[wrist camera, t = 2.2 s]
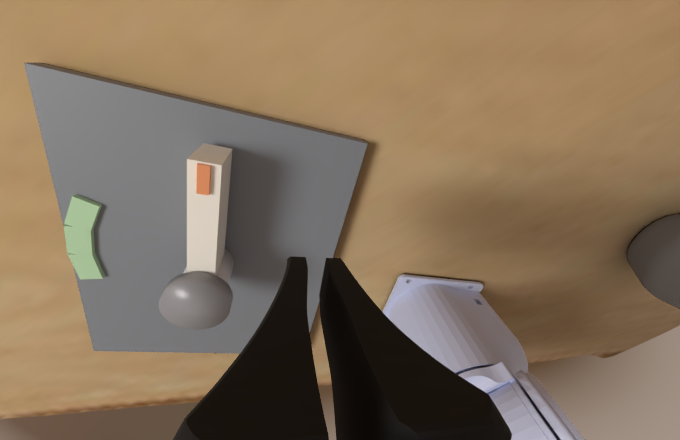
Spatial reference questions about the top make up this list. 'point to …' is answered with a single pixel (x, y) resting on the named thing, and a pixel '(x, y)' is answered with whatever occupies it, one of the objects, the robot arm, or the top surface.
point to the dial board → (183, 203)
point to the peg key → (203, 245)
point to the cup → (658, 258)
